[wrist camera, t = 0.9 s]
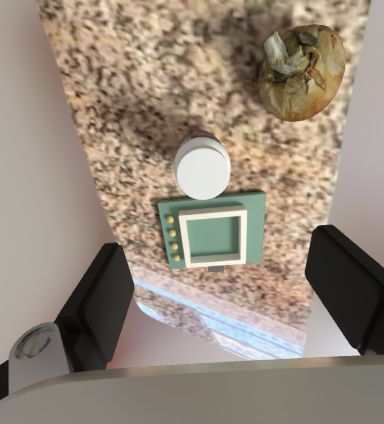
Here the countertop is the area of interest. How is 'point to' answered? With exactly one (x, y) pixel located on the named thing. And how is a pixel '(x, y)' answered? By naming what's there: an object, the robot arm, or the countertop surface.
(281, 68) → the onion
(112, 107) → the countertop surface
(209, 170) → the pill bottle
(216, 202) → the board
